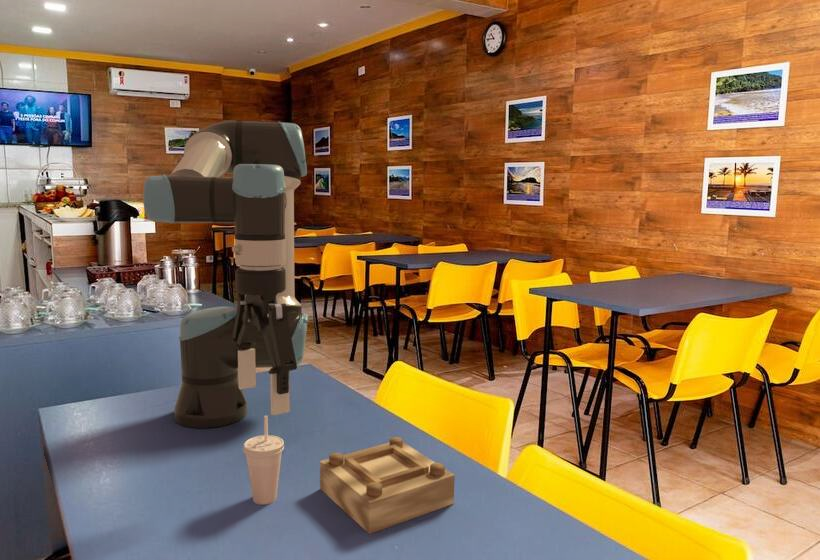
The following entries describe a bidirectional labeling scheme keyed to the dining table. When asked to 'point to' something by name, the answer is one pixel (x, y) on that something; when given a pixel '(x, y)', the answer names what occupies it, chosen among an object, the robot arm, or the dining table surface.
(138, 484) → the dining table surface
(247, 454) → the smoothie
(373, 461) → the base brick
